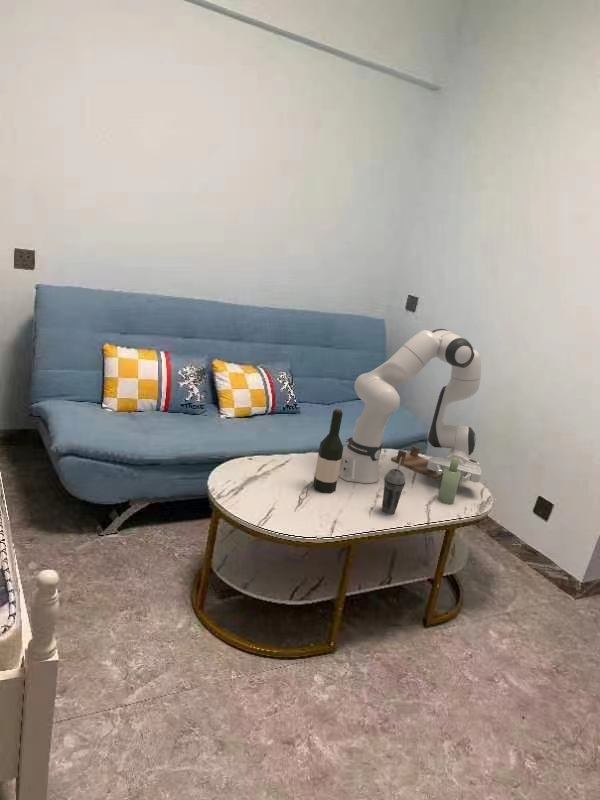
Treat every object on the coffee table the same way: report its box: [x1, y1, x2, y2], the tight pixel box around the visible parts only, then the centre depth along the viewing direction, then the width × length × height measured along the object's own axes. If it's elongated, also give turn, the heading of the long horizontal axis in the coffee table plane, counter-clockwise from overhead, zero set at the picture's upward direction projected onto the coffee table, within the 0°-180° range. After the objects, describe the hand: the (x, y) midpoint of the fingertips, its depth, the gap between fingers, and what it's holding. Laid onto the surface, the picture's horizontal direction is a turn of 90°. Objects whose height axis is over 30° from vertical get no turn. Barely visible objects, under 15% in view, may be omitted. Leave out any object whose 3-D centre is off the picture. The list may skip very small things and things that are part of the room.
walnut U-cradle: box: [390, 445, 447, 481], centre depth 259 cm, size 22×14×5 cm, turn 48°
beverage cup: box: [381, 457, 406, 516], centre depth 211 cm, size 7×7×20 cm
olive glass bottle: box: [437, 457, 461, 505], centre depth 228 cm, size 6×6×17 cm
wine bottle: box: [312, 408, 344, 494], centre depth 219 cm, size 8×8×30 cm
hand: (451, 475), depth 232 cm, fingers open, 8 cm apart
